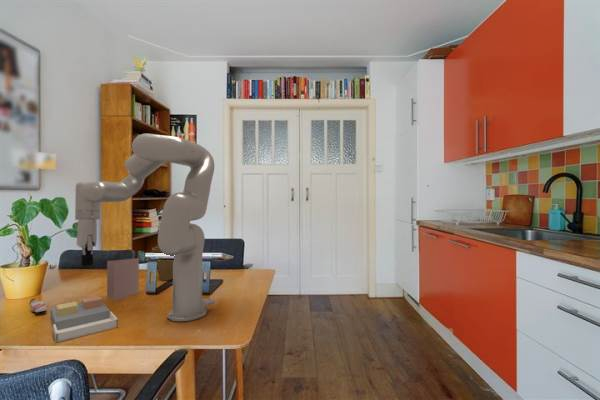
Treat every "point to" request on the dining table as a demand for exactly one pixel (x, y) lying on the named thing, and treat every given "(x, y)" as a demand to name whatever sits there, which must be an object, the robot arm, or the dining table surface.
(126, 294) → the greeting card
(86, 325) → the tray
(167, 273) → the plant pot
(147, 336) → the dining table surface
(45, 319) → the dining table surface
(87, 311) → the slate board
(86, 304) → the salmon pink block
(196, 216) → the robot arm
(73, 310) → the tile mustard
